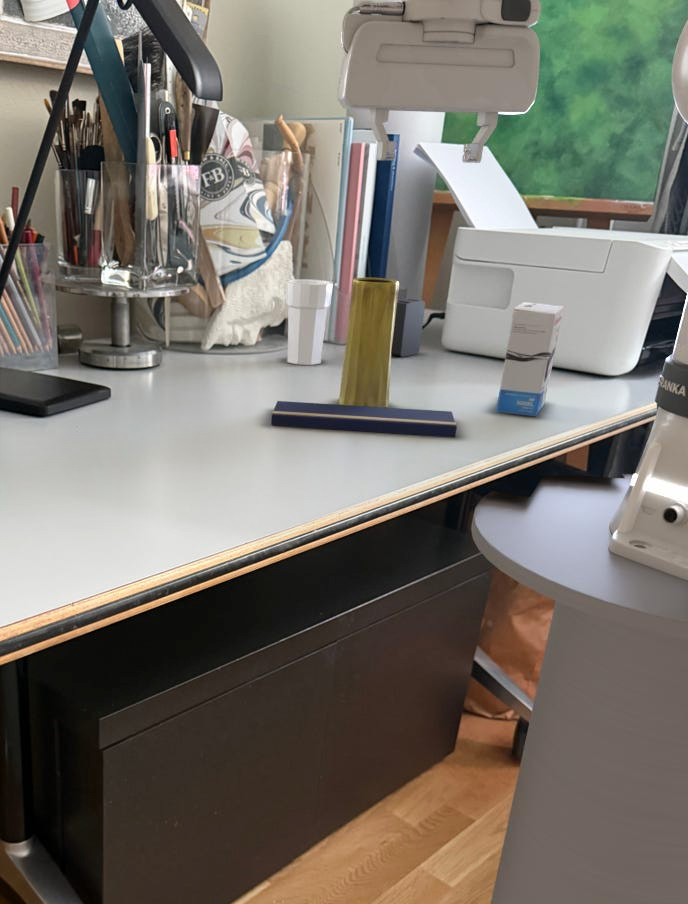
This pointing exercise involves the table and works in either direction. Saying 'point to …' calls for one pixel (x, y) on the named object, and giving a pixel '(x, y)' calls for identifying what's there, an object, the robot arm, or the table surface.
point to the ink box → (529, 358)
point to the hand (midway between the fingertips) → (428, 161)
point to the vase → (369, 343)
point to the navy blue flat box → (364, 418)
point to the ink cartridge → (408, 327)
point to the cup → (307, 319)
